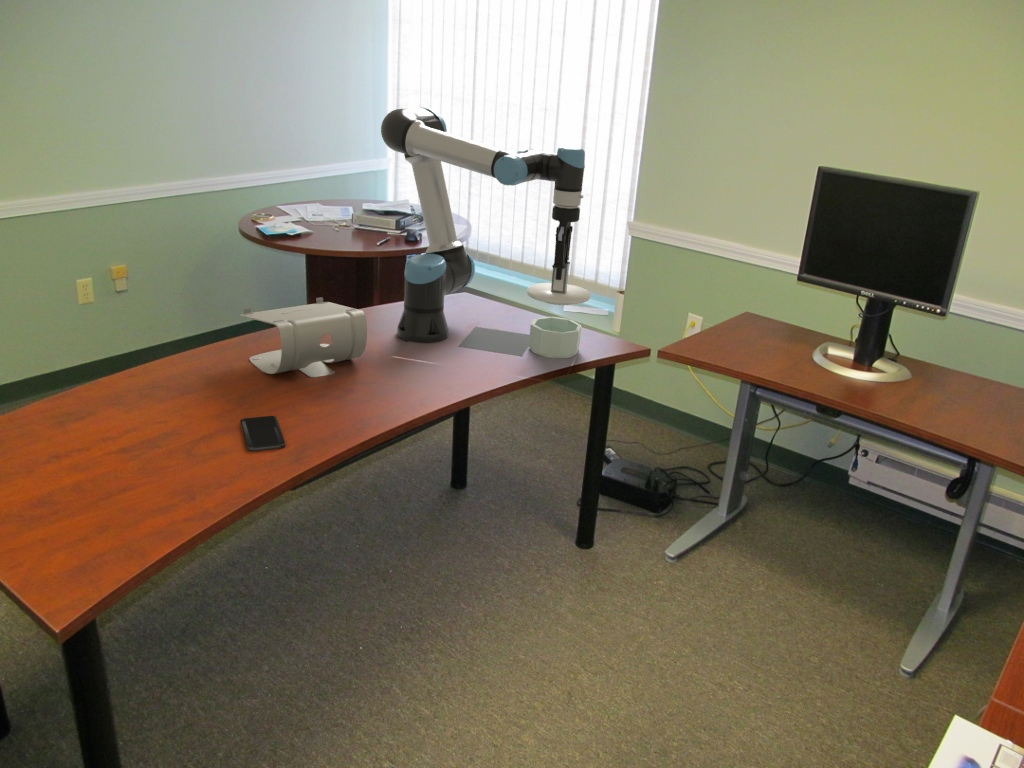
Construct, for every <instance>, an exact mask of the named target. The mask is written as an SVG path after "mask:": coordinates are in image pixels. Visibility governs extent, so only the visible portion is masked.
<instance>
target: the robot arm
mask: <svg viewBox="0 0 1024 768" xmlns="http://www.w3.org/2000/svg"><path fill="white" fill-rule="evenodd" d="M380 134H381V138H382V141H383V142H384V143H385V146H387V147H388V148H389V149H391V150H392V151H395V152H397V153H400V154H401V153H402V154H403V155H404V160H405V161H406V162H408V163H409V164H410V165H411V167H412V173H413V176H414V180H415V182H414V183H415V185H416V186H415V187H416V189H417V194H418V199H419V205H420V209H421V214H422V218H423V222H424V223H423V224H424V227H425V231H426V237H427V241H428V247H427V249H426V250H425V253H422V254H414V255H412V256H411V257H409V258H408V259H407V261H406V262H405V267H404V273H403V274H404V275H403V276H404V290H403V293H404V295H403V296H404V297H403V311H402V313H401V316H400V319H399V322H398V324H397V331H396V333H397V334H396V335H397V337H398V338H400V339H401V340H403V341H405V342H410V343H417V344H434V343H439V342H442V341H445V340H447V339H448V337H449V327H448V323H447V319H446V316H445V312H444V311H445V310H444V309H445V308H444V307H445V306H444V305H445V296H448V295H449V294H452V293H454V292H456V291H458V292H459V291H461V290H462V289H464V288H465V287H467V286H468V285H469V284H470V283H471V282H472V280H473V279H474V276H475V272H476V266H475V262H474V259H473V257H472V256H471V255H470V254H469V253H468V252H467V251H466V249H465V247H464V246H465V245H464V243H463V242H461V241H460V240H459V239H458V238H457V233H456V229H455V223H454V219H453V213H452V209H451V204H450V200H449V194H448V190H447V185H446V184H447V183H446V180H445V175H444V169H443V165H442V162H443V163H446V164H449V165H452V166H455V167H459V168H462V169H466V170H469V171H471V172H475V173H478V174H480V175H481V174H482V175H484V176H487V177H491V178H493V179H496V180H497V181H498V183H500V184H501V185H504V186H516V185H519V184H524V183H527V182H530V181H535V180H539V181H547V182H553V183H554V188H553V197H552V199H553V200H552V203H553V205H552V212H551V213H552V214H551V219H552V220H553V221H557V222H559V223H558V226H556V231H555V232H556V233H555V246H554V248H555V249H554V259H553V260H554V262H553V264H554V265H553V264H552V265H551V266H552V267H551V268H552V269H553V268H555V272H554V284H553V290H557V291H563V283H564V272H565V268H564V263H567V264H569V266H570V264H571V261H569V260H570V251H571V249H570V248H571V240H572V233H573V229H574V228H573V225H572V224H571V223H577V222H578V221H579V220H580V214H581V213H580V212H581V208H580V206H581V203H582V202H581V201H582V199H583V198H584V194H582V191H583V183H584V182H583V181H584V173H585V168H586V164H585V163H586V162H585V161H586V151H585V150H584V149H583V148H581V147H577V146H565V145H564V146H563V145H562V146H561V145H560V146H559V147H558V148H557V150H556V151H557V152H549V151H548V152H547V151H541V150H534V149H533V148H530V149H524V148H522V149H518V151H517V152H515V153H514V152H511V151H508V150H504V149H503V148H498V147H496V146H495V147H494V146H492V145H488V144H485V143H482V142H478V141H476V140H475V141H474V140H471V139H468V138H465V137H461V136H458V135H456V134H452V133H449V132H448V131H447V124H446V121H445V120H444V118H443V117H442V115H441V114H440V113H439V112H438V111H436V110H435V109H433V108H429V107H423V106H420V107H419V106H418V107H411V108H395V109H394V110H392V111H390V112H388V113H387V114H386V115H385V116H384V118H383V120H382V122H381V126H380Z"/></svg>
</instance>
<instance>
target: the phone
mask: <svg viewBox="0 0 1024 768" xmlns="http://www.w3.org/2000/svg"><path fill="white" fill-rule="evenodd" d="M240 427H241V431H242V436H243V438H244V439H243V440H244V443H245V448H246V450H247V451H248V452H252V453H253V452H262V451H263V452H264V451H271V450H273V451H274V450H279V449H280V450H281V449H284V448H285V447H286V441H285V439H284V435H283V431H282V428H281V426H280V424H279V421H278V417H277V416H275V415H266V416H265V415H264V416H254V417H244V418H241V419H240Z"/></svg>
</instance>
